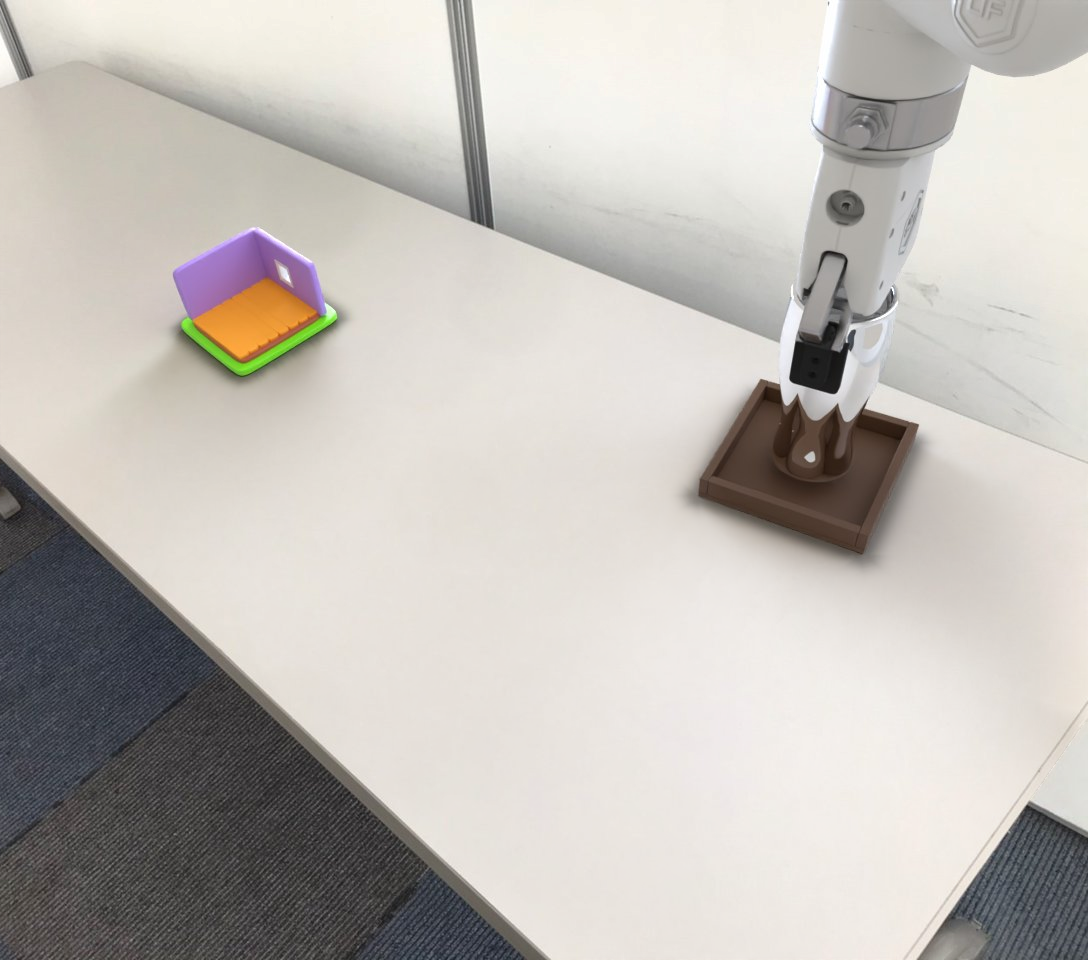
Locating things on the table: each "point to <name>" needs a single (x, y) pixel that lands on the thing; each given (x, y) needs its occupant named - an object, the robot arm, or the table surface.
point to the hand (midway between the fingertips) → (833, 349)
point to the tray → (807, 507)
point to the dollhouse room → (251, 300)
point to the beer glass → (829, 419)
